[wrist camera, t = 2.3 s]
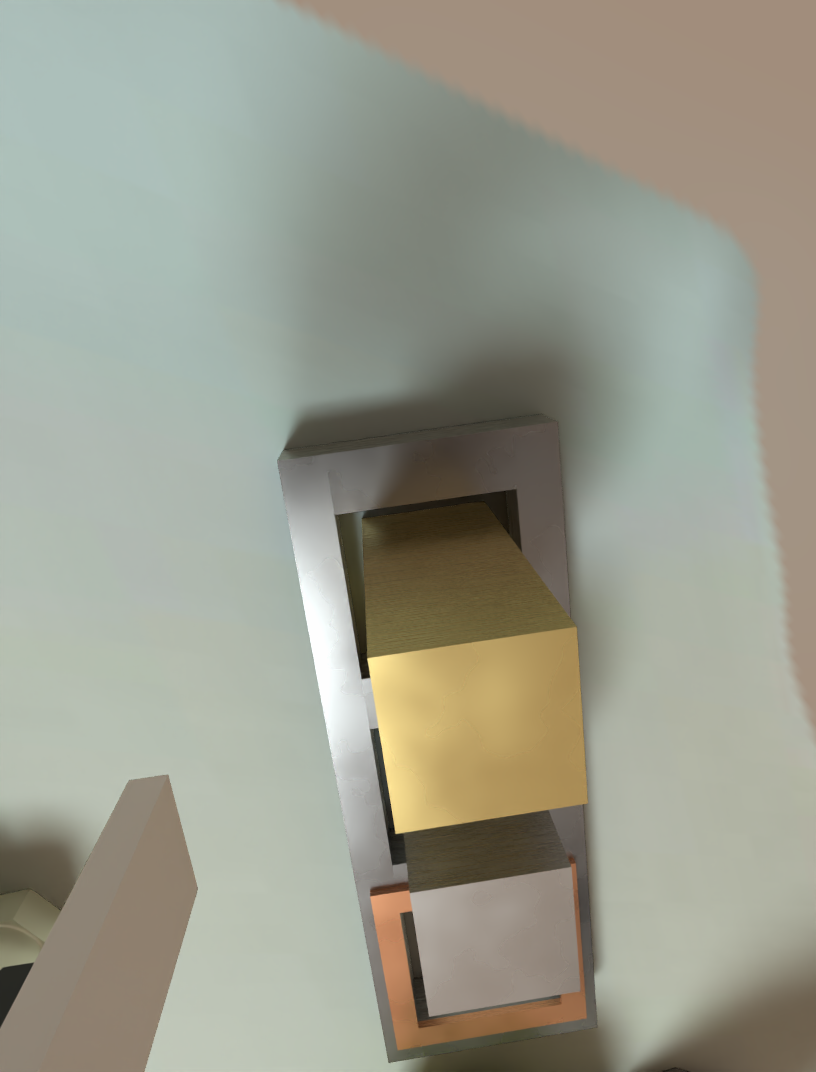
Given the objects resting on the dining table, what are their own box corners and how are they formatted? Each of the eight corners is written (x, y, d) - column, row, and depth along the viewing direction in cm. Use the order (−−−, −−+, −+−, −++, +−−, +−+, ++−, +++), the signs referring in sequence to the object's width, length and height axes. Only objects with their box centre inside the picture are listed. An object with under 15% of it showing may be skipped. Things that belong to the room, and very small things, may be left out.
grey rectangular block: (392, 715, 27) (409, 893, 19) (503, 698, 28) (571, 866, 19) (406, 809, 29) (429, 1016, 20) (512, 792, 29) (580, 991, 20)
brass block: (361, 518, 25) (367, 658, 15) (483, 500, 25) (576, 626, 15) (379, 631, 26) (395, 833, 16) (495, 613, 27) (587, 803, 16)
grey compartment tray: (283, 449, 24) (276, 462, 22) (541, 414, 24) (560, 422, 22) (386, 1018, 32) (388, 1070, 30) (582, 985, 32) (599, 1034, 30)
